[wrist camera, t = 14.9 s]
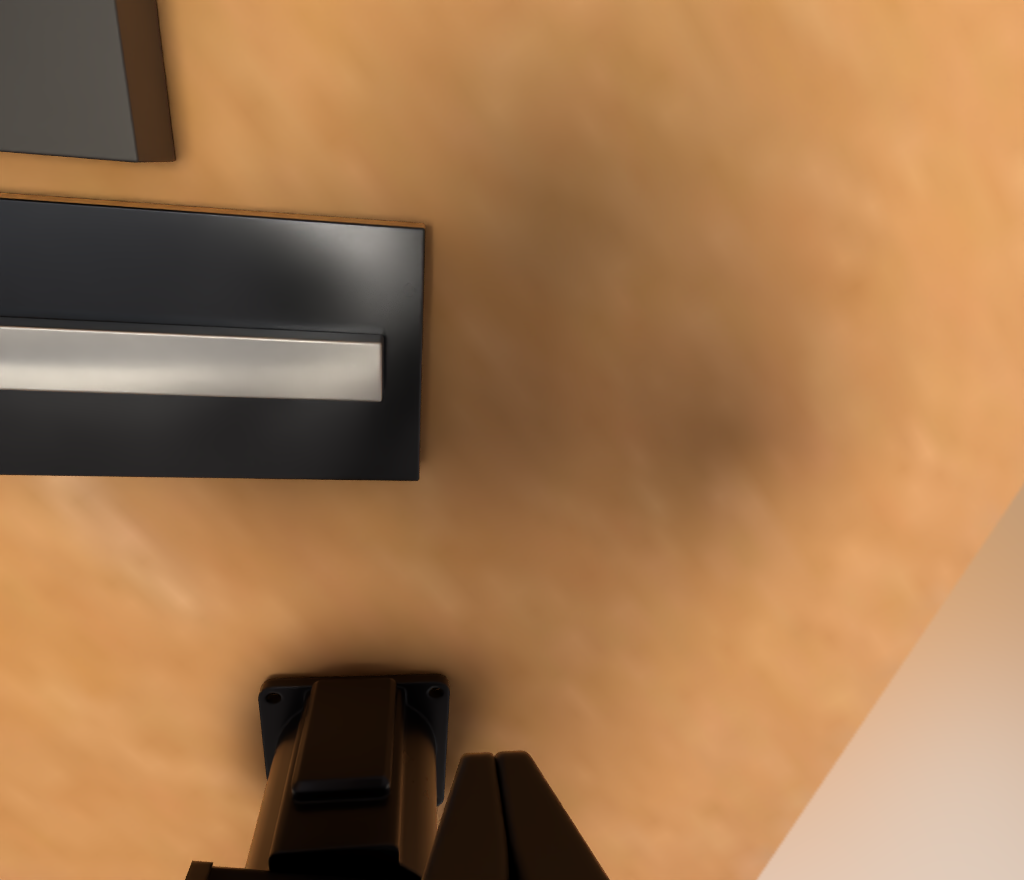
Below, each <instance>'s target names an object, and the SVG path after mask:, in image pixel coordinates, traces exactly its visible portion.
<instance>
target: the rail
mask: <svg viewBox="0 0 1024 880" xmlns="http://www.w3.org/2000/svg"><path fill="white" fill-rule="evenodd" d="M425 227H426V226H425V224H424V223H413V222H399V221H386V220H372V219H358V218H344V217H330V216H316V215H303V214H289V213H275V212H261V211H247V210H233V209H220V208H206V207H192V206H178V205H164V204H151V203H137V202H123V201H109V200H95V199H81V198H68V197H54V196H40V195H26V194H12V193H0V475H51V476H119V477H186V478H254V479H321V480H389V481H418V480H419V473H420V432H421V391H422V350H423V309H424V268H425Z"/></svg>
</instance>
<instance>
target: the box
mask: <svg viewBox="0 0 1024 880" xmlns="http://www.w3.org/2000/svg"><path fill="white" fill-rule="evenodd" d="M0 151H1V152H14V153H26V154H38V155H51V156H63V157H75V158H88V159H100V160H113V161H125V162H170V161H175V155H174V147H173V138H172V130H171V122H170V114H169V106H168V97H167V89H166V81H165V73H164V65H163V56H162V48H161V40H160V32H159V24H158V15H157V7H156V0H0Z"/></svg>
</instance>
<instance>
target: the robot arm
mask: <svg viewBox="0 0 1024 880" xmlns="http://www.w3.org/2000/svg"><path fill="white" fill-rule="evenodd" d="M432 688H440V689H437V690H432ZM271 693H277V694H279V695H273V694H271ZM449 696H450V688H449V680H448V679H447V678H446V677H445V676H443V675H441V674H415V675H380V676H345V677H310V678H275V679H269V680H267V681H266V682H264V684H263V685H262V687H261V690H260V693H259V697H258V701H259V710H260V720H261V729H262V738H263V748H264V757H265V766H266V776H267V785H266V788H265V792H264V796H263V800H262V804H261V808H260V812H259V816H258V820H257V824H256V828H255V832H254V836H253V839H252V843H251V847H250V851H249V855H248V859H247V863H246V867H245V869H244V868H230V867H216V866H213V862H201V861H192V863H191V866H190V868H189V871H188V874H187V876H186V879H185V880H609V878H608V876H607V875H606V873H605V872H604V870H603V869H602V867H601V866H600V864H599V862H598V861H597V859H596V858H595V856H594V855H593V853H592V851H591V850H590V848H589V847H588V845H587V844H586V842H585V840H584V839H583V837H582V836H581V834H580V833H579V831H578V830H577V828H576V826H575V825H574V823H573V822H572V820H571V819H570V817H569V815H568V814H567V812H566V811H565V809H564V808H563V806H562V804H561V803H560V801H559V800H558V798H557V797H556V795H555V793H554V792H553V790H552V789H551V787H550V786H549V784H548V783H547V781H546V779H545V778H544V776H543V775H542V773H541V772H540V770H539V768H538V767H537V765H536V764H535V762H534V761H533V759H532V758H531V756H530V755H529V754H528V753H527V752H525V751H505V752H498V753H497V754H496V755H495V757H494V755H493V754H492V753H489V752H483V753H466V754H464V755H463V756H462V757H461V759H460V762H459V765H458V768H457V771H456V774H455V777H454V780H453V783H452V787H451V790H450V793H449V796H448V799H447V802H446V805H445V808H444V811H443V814H442V818H441V821H440V824H439V827H438V830H437V806H439V805H440V804H441V803H442V802H443V800H444V789H445V770H446V752H447V733H448V715H449Z"/></svg>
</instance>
